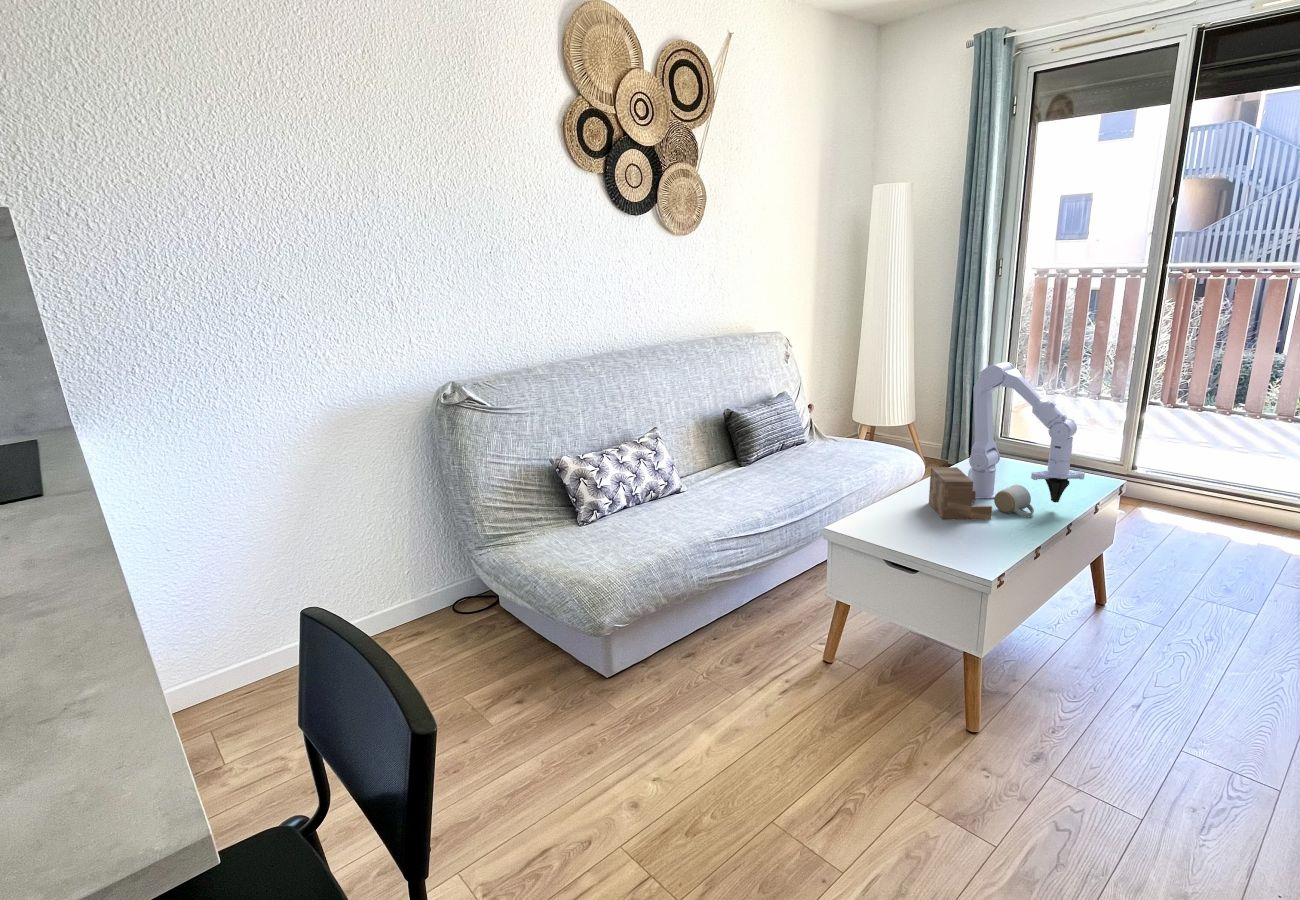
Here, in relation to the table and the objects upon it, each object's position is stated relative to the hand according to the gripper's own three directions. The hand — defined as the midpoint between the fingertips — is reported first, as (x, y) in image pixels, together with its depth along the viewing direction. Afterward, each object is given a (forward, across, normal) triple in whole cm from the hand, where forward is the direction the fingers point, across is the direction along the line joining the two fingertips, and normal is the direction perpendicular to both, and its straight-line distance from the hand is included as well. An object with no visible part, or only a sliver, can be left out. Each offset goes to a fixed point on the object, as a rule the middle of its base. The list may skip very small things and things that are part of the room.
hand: (1054, 501), depth 215 cm
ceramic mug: (+3, -12, -1) cm, 12 cm away
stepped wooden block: (+3, -28, 0) cm, 28 cm away
